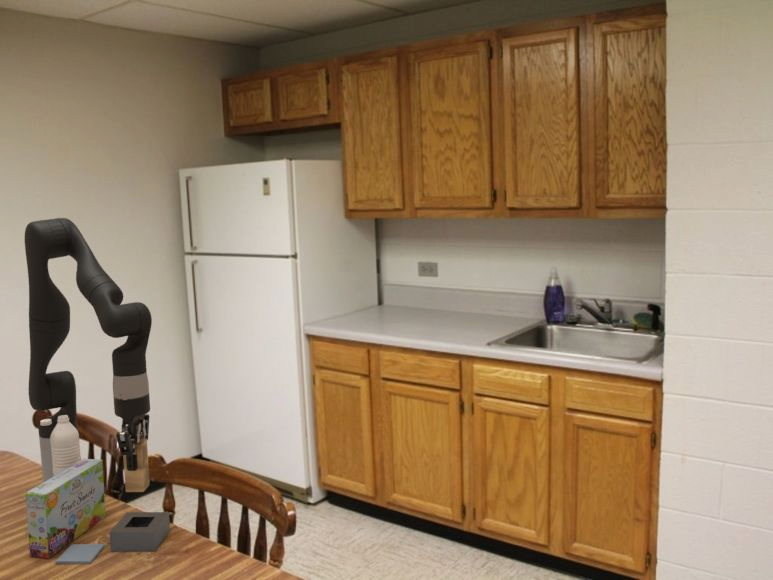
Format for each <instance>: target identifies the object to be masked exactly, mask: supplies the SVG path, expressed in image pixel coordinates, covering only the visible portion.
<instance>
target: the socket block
mask: <svg viewBox="0 0 773 580" xmlns="http://www.w3.org/2000/svg"><path fill="white" fill-rule="evenodd" d="M170 531H171V525H170V512H168V511H166V512H165V511H153V512H151V511H150V512H148V511H146V512H145V511H140V512H138V511H135V512H133V511H132V512H131V511H130V512H128V511H127V512H126V513H125V514H124V515H123V516H122V517H121V519H120V520H119V521H118V522H117V523H116V524H115V525H114V526H113V528H112V529H110V531H109V543H110V545H109V546H110V552H111V553H113V552H115V553H116V552H119V553H120V552H121V553H122V552H124V553H125V552H132V553H133V552H156V551H157V550H158V548H159V547H160V546H161V544H162V543H163V541H164V540H165V538H166V537H167V535H168V534H169V533H170ZM163 539H164V540H163Z"/></svg>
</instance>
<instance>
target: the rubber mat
mask: <svg viewBox="0 0 773 580" xmlns="http://www.w3.org/2000/svg"><path fill="white" fill-rule="evenodd" d="M105 547H106V544H105V543H98V544H97V543H92V544H91V543H88V544H87V543H80V544H77V543H73V544H70V546H69V547H67V549H66V550H65V551H64V552H63V553H62V554H61V555H60V556H59V557H58V558H57V559H56V561H55V565H91V564H92V563H93V562H94V560H95V559H96V558H97V556H98V555H99V554H100V553H101V552H102V551H103V550H104V548H105Z"/></svg>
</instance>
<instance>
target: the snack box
mask: <svg viewBox="0 0 773 580" xmlns="http://www.w3.org/2000/svg"><path fill="white" fill-rule="evenodd" d="M103 462H104V461H103V459H93V458H83V459H81V461H79V462H78V463H76V464H74V465H72V466H71V467H69V468H67V469H66V470H64V471H62V472H60V473H59V474H57V475H55V476H54V477H52V478H50V479H48V480H47V481H45V482H43V481H42V483H40V484H38V485H36V486H35V487H33V488H31V489H29V490H28V491H26V492H25V502H26V516H27V520H26V521H27V532H28V533H27V534H28V546H29V557H33V558H34V557H35V558H41V559H51V558H52V557H53V556H55V555H56V554H57V553H59V552H60V551H61V550H63V549H64V548H65V547H67V546H68V545H70V544H71V543H72V542H73V541H75V540H76V539H78V538H79V537H80V536H82V535H83V534H85V533H86V532H87V531H89V530H90V529H91V528H93V527H94V526H96V524H98V523H99V522H101V521H102V520H103V519H105V518H106V498H105V486H104V485H105V481H104V463H103Z"/></svg>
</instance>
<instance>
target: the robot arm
mask: <svg viewBox="0 0 773 580" xmlns="http://www.w3.org/2000/svg"><path fill="white" fill-rule="evenodd" d="M24 249H25V251H24V252H25V258H26V259H25V260H26V266H27V276H28V277H27V278H28V279H27V280H28V327H29V328H28V329H29V330H28V331H29V345H30V346H29V349H30V354H29V356H30V358H29V359H30V361H29V371H28V372H29V373H28V400H29V404H30V406H31V408H32V409H33V410H34V411H47V410H48V411H49V410H53V409H59V410H58V411H57V412H56V413H55V414H54V415H52V416H50V417H48V419H51V421H52V424H50V423H49V424H50V425H46V424H42V425H46V426H41V425H40V424H39V425H38V437H39V450H40V459H41V460H40V461H41V462H40V463H41V474H42V483H43V482H45V481H47V480H48V479H50V478H52V477H54V474H53V464H52V463H53V462H52V452H51V442H50V436H51V433H52V431H53V430H54V428H55V426H56V425H57V423H58V421H57V420H58V416H61V415H68V418H69V422H70V423H71V424H72V425H73V426H74V427H75V428H76V429H77V431H78V414H77V386H76V384H77V383H76V379H75V377H74V375H73V373H72V371H69V370H62V371H55V372H49V373H48V372H47V371H48V370H47V369H48V366H49V364H50V362H51V360H52V359H53V357H54V356H55V354H56V353H57V351H58V350H59V349H60V348H61V346H62V345H63V344H64V342H65V340H66V339H67V338H68V335H69V333H70V331H71V306H70V302H69V301H68V300H67V298H66V296H65V295H64V294H63V292H61V290H60V289H59V288H58V286H57V285H56V284H55V282H53V280H52V278H51V276H50V272H49V260H51V259H57V258H64V257H67V256H69V257H71V258H72V259H73V260H74V261H75V262H76V272H75V282H76V286H77V288H78V290H79V292H80V294H81V295H82V296H83V297H84V299H86V301H87V302H88V303H89V304H90V305H91V306H92V308H93V310H94V312H95V315H96V318H97V320H98V323H99V326H100V328H101V330H102V332H103V333H104V334H105V335H107V336H109V337H111V338H115V339H118V338H123V337H124V338H125V337H127V338H126V341H125V342H124V343H123V344H121V345H120V346H118V347H116V348H114V349H113V350H112V353H111V363H112V394H113V406H114V408H113V409H114V415H115V416H116V417H119V418H121V419H122V420H121V421H122V422H121V431H117V432H116V434H115V436H116V440H117V441H116V442H117V444H118V449H119V453H120V455H121V456H123V455H126V463H127V470H128V471H136V470H137V469H138V464H137V444H138V443H139V439H147V441H149V431H150V429H149V428H150V414H148V413H150V411H151V402H150V399H151V398H150V385H149V377H148V372H147V358H146V357H147V353H146V352H147V349H148V345H149V344H148V343H149V338H150V334H151V329H152V325H153V324H152V322H153V321H152V320H153V319H152V314H151V310H150V309H149V308H148V306H147V305H146V304H145V303H143V302H139V301H135V302H134V301H133V302H128V303H123V304H122V302H123V300H124V292H123V291H122V289H121V287H120V286H119V285H118V284H117V283H116V282H115V281H114V280H113V279H112V278H111V277H110V275H109V274H108V273H107V272H106V271H105V269H103V267H102V266H101V264H100V263H99V261H98V260H97V257H96V256H95V254H94V253H93V250H92V249H91V247H90V245H89V244H88V242H87V241H86V239H85V237H84V235H83V233H82V232H81V231H80V229H79V228H78V226H77V225H76V224H75V223H74V222H73V221H72V220H71V219H69V218H66V217H56V218H50V219H49V218H48V219H43V220H42V219H40V220H34V221H31V222H29V223H28V224H26V227H25V230H24ZM78 432H79V431H78ZM131 439H135V440H131ZM132 444H133V446H132Z"/></svg>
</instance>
